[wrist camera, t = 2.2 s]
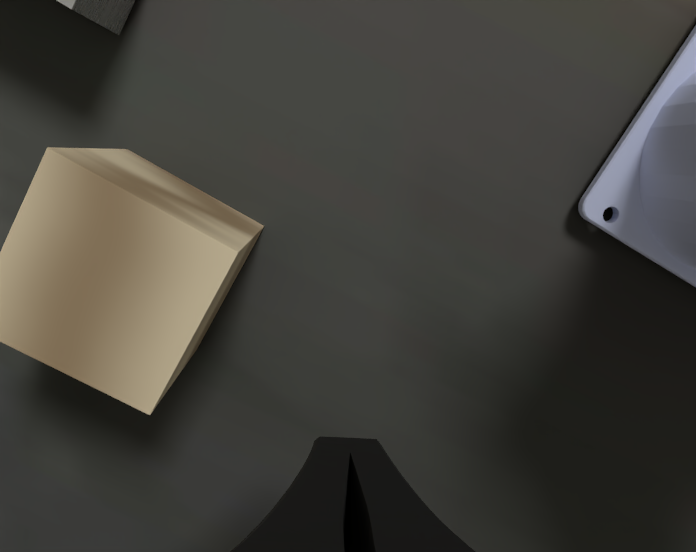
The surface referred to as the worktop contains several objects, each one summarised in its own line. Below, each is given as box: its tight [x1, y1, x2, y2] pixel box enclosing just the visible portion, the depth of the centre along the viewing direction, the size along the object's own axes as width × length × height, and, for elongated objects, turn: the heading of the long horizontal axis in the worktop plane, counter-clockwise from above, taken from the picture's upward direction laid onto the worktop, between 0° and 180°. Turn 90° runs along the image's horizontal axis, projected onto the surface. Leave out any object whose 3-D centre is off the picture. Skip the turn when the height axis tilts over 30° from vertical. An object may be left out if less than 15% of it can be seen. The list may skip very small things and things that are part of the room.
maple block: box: [0, 147, 264, 415], centre depth 16 cm, size 5×5×5 cm
